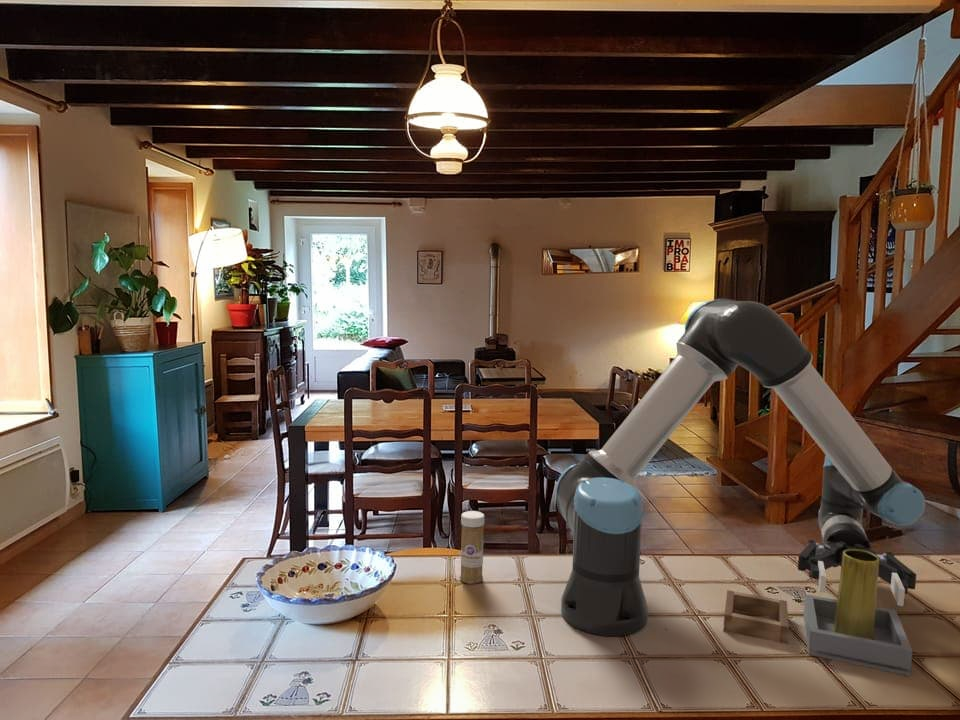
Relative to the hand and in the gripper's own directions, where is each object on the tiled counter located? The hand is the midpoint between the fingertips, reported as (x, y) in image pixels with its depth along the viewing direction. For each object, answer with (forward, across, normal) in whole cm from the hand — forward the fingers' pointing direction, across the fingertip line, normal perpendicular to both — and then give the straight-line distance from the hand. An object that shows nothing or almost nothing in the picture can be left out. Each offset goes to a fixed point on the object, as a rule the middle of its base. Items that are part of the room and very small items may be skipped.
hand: (861, 590), depth 106 cm
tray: (-4, 0, -11) cm, 12 cm away
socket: (-4, +15, -11) cm, 19 cm away
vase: (-4, 0, -10) cm, 11 cm away
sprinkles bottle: (+1, +67, -11) cm, 68 cm away
